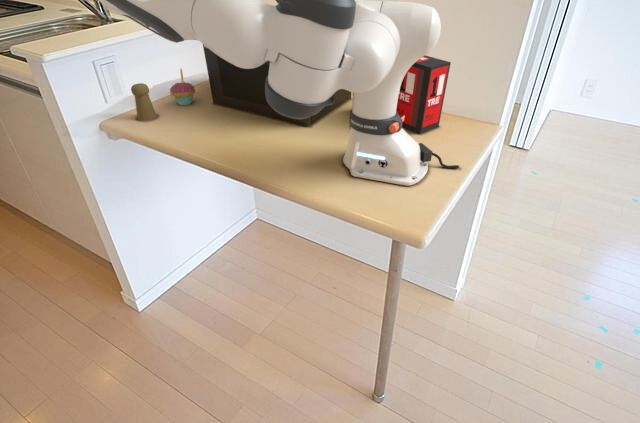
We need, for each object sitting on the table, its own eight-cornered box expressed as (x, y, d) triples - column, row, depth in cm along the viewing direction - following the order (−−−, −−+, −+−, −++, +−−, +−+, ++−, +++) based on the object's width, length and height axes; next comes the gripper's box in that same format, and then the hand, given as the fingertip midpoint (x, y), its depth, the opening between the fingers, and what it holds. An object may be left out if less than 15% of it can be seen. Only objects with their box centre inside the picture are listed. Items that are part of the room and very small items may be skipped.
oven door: (301, 132, 124) (297, 52, 110) (204, 107, 141) (190, 35, 126) (311, 125, 128) (309, 47, 114) (216, 101, 145) (204, 31, 130)
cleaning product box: (438, 126, 128) (450, 62, 116) (420, 134, 123) (431, 67, 112) (399, 111, 138) (407, 50, 127) (381, 117, 134) (387, 55, 122)
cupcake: (178, 98, 148) (171, 64, 141) (200, 99, 147) (195, 65, 140) (169, 107, 141) (161, 72, 134) (192, 107, 140) (186, 73, 133)
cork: (150, 121, 130) (142, 88, 124) (133, 120, 131) (124, 86, 125) (160, 114, 135) (152, 82, 129) (144, 113, 136) (135, 80, 130)
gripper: (118, -25, 90) (162, 16, 102) (184, -19, 82) (223, 24, 94) (129, -50, 90) (171, -6, 103) (196, -47, 82) (233, 0, 95)
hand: (196, 8), depth 99 cm, fingers closed
